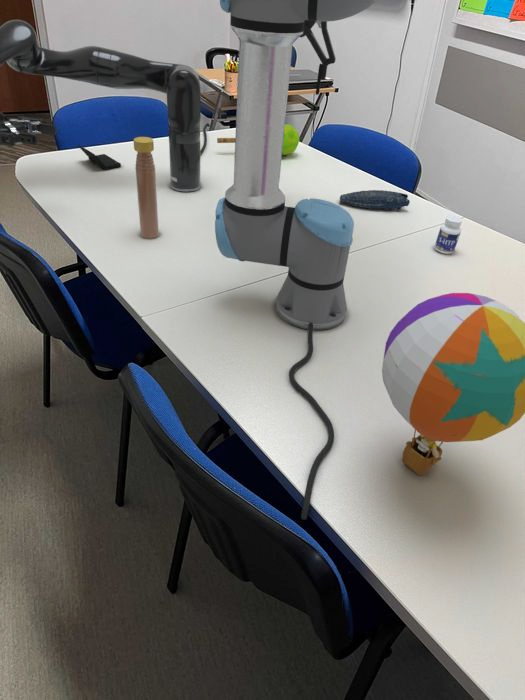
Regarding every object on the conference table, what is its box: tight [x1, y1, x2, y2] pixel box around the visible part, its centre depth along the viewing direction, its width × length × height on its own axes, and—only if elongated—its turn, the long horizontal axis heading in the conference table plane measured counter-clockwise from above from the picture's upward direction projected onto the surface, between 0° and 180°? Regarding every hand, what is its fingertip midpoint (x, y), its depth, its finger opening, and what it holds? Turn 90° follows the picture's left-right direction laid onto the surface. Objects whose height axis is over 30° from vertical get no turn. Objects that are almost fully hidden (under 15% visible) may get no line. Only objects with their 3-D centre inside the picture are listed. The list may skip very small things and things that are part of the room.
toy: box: [381, 292, 525, 477], centre depth 72 cm, size 20×20×30 cm
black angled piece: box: [77, 144, 122, 170], centre depth 169 cm, size 12×7×10 cm
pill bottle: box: [434, 215, 463, 255], centre depth 137 cm, size 5×5×9 cm
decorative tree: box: [216, 124, 300, 156], centre depth 186 cm, size 18×10×30 cm
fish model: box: [339, 189, 411, 211], centre depth 158 cm, size 7×21×5 cm, turn 84°
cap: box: [133, 136, 155, 153], centre depth 120 cm, size 4×4×2 cm
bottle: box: [134, 151, 160, 240], centre depth 127 cm, size 5×5×24 cm
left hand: (46, 134), depth 122 cm, fingers open, 8 cm apart
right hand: (290, 90), depth 132 cm, fingers open, 13 cm apart
